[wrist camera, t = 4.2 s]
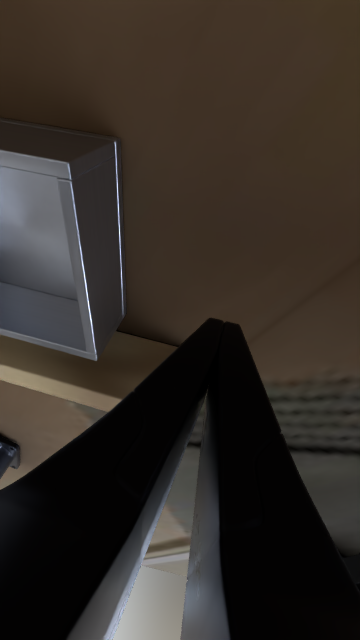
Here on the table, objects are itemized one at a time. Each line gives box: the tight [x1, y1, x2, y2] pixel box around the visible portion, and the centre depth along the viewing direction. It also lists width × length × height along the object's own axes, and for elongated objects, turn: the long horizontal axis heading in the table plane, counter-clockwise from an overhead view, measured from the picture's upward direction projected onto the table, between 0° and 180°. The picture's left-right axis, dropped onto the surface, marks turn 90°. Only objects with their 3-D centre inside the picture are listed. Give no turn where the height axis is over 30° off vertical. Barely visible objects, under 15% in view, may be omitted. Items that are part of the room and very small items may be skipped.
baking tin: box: [0, 118, 127, 361], centre depth 11 cm, size 8×7×3 cm
